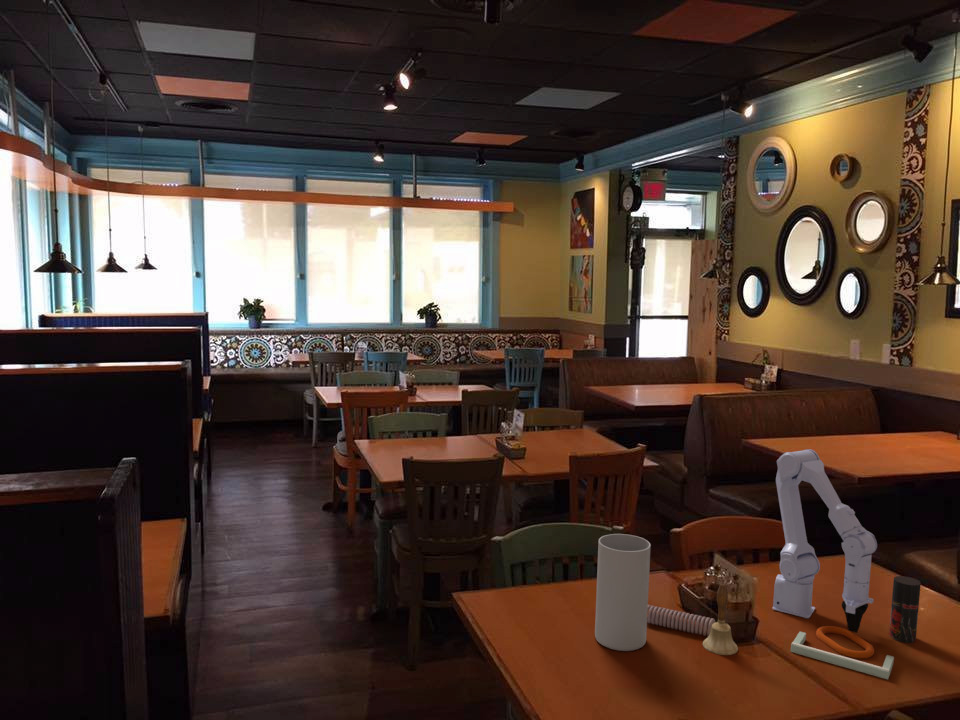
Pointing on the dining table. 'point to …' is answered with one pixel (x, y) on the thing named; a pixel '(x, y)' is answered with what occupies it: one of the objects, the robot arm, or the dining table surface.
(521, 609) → the dining table surface
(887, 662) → the bar pull handle
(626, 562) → the cylinder vase
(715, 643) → the hand bell
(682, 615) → the coil
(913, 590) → the deodorant
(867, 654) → the orange oval ring
